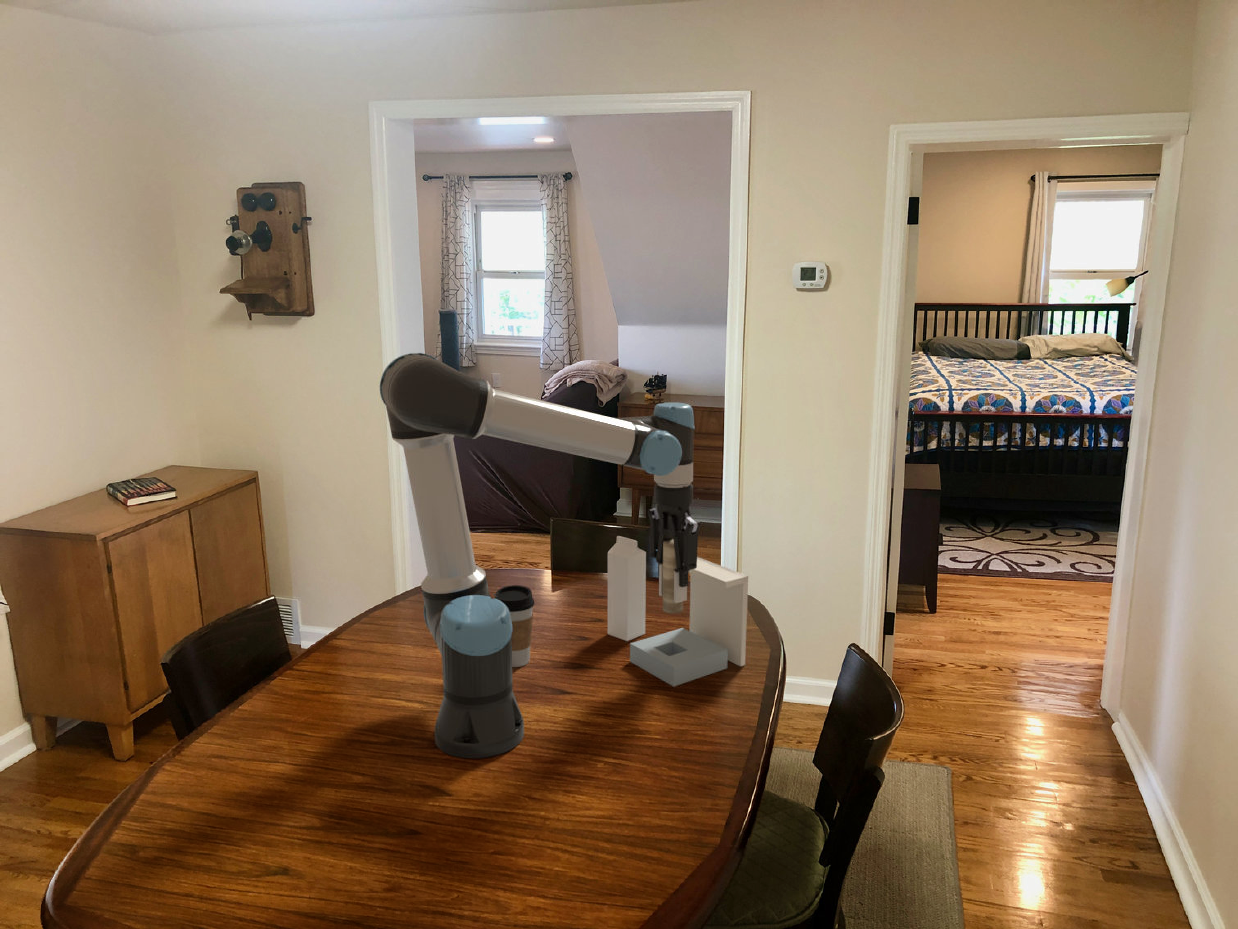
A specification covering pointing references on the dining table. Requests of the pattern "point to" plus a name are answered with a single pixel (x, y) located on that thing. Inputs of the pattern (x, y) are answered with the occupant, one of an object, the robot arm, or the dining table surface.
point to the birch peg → (669, 578)
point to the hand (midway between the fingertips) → (672, 597)
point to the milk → (626, 589)
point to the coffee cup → (519, 620)
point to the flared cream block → (719, 607)
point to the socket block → (678, 656)
